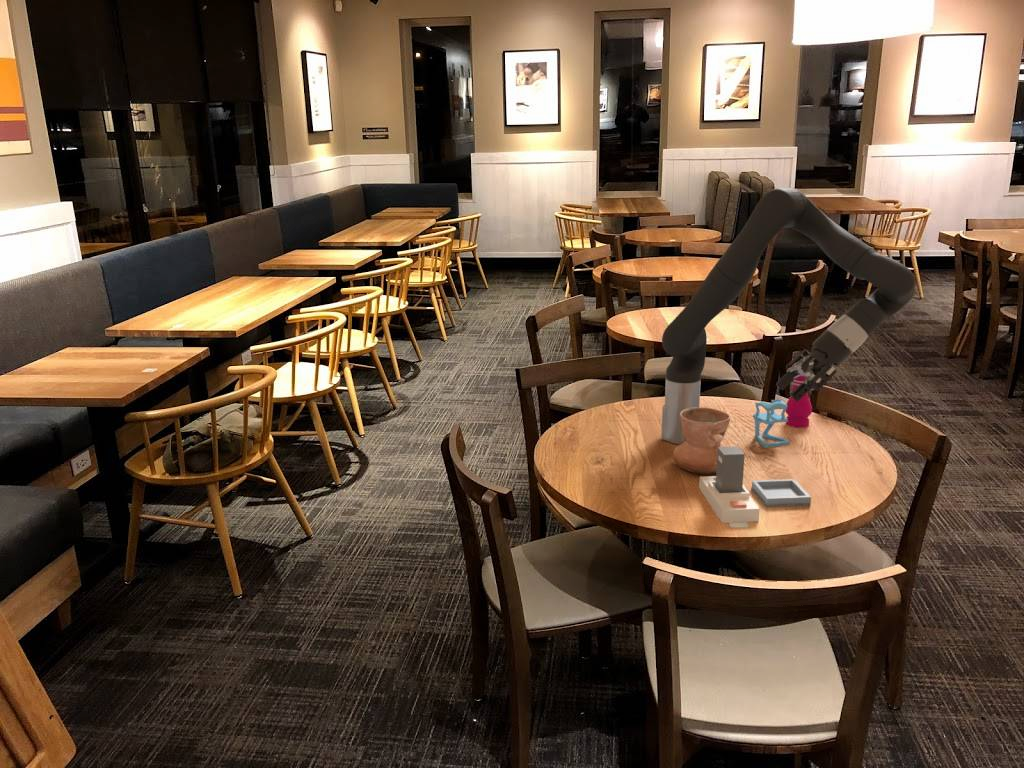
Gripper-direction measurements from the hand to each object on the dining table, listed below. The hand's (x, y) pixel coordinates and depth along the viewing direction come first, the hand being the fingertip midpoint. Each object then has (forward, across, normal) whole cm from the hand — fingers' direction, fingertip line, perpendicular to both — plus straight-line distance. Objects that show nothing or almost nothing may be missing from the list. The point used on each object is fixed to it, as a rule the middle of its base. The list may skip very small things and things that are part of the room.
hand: (785, 392), depth 182 cm
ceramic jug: (+27, -18, +8) cm, 33 cm away
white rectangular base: (+27, +4, +8) cm, 28 cm away
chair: (+10, -33, +24) cm, 43 cm away
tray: (+18, +1, +17) cm, 25 cm away
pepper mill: (+1, -46, +33) cm, 56 cm away
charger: (+25, +4, +6) cm, 26 cm away
